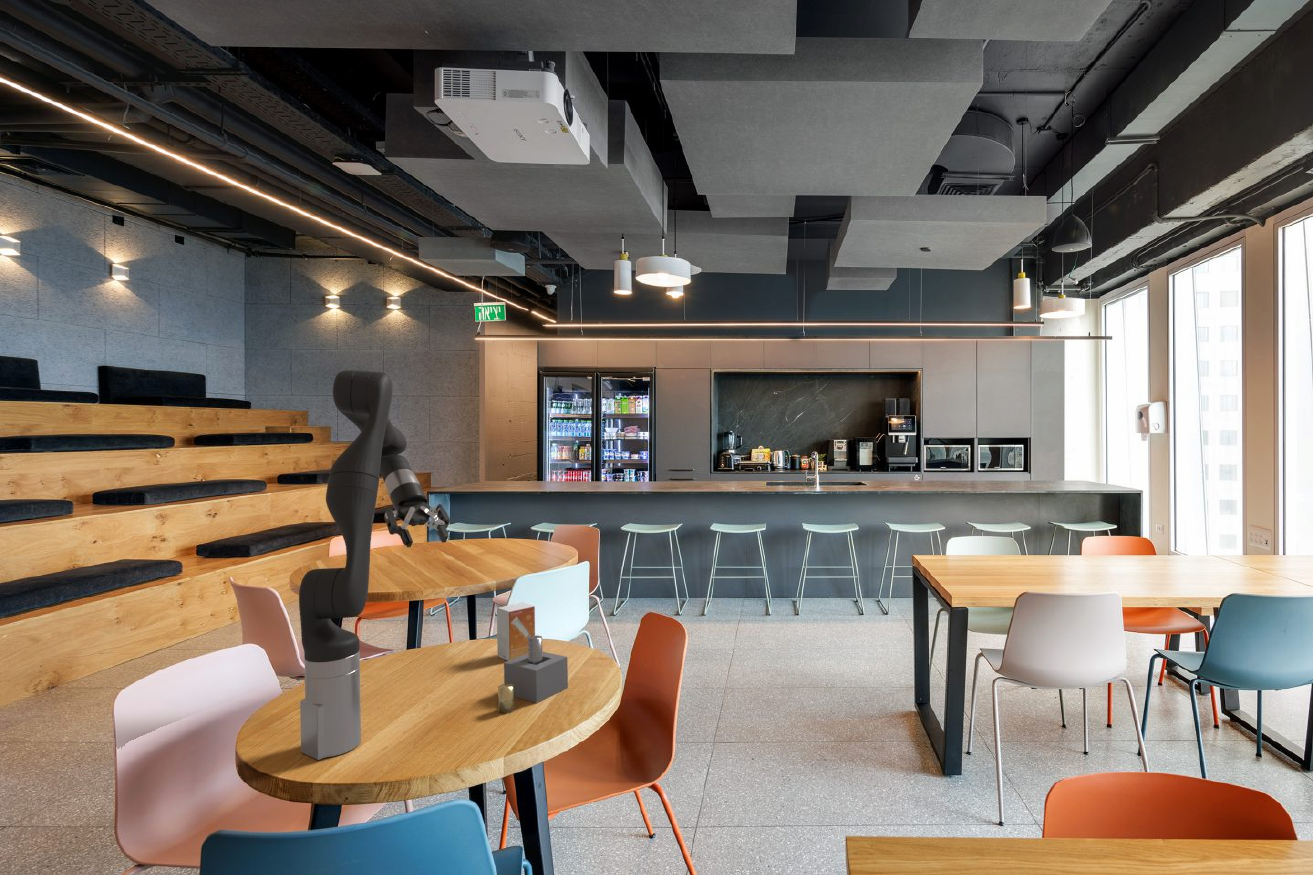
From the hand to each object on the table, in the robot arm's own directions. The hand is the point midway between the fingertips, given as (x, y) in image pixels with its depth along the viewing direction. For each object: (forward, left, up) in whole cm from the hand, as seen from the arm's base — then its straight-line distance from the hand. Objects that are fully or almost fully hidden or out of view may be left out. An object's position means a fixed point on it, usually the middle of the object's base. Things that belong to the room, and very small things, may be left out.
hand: (428, 542), depth 146 cm
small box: (+26, -1, -34) cm, 43 cm away
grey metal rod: (+11, -23, -34) cm, 42 cm away
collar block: (+11, -23, -34) cm, 42 cm away
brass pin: (0, -25, -34) cm, 42 cm away
